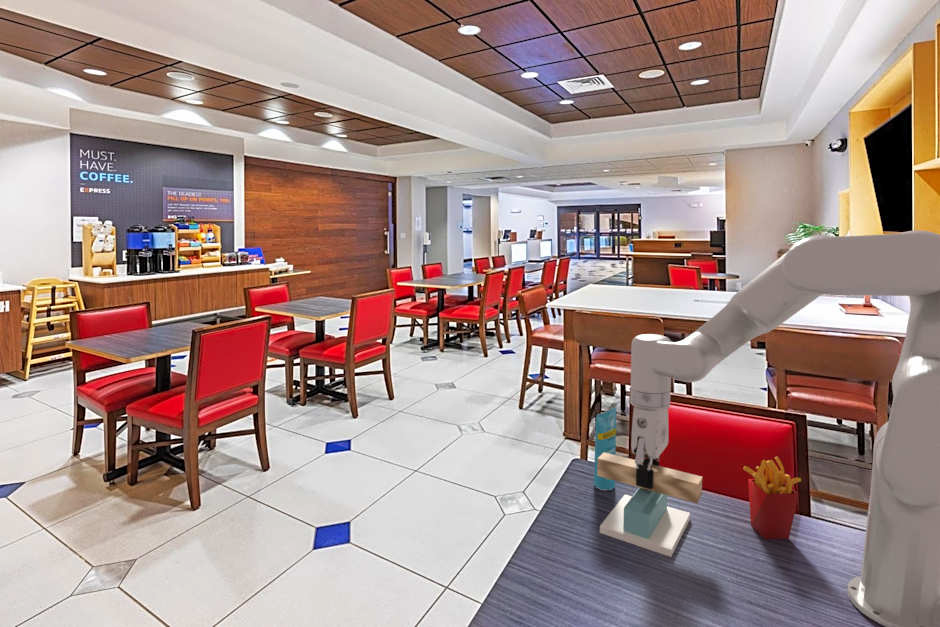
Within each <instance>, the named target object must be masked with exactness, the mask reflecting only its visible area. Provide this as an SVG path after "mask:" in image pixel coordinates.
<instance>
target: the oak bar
mask: <svg viewBox="0 0 940 627" xmlns="http://www.w3.org/2000/svg"><path fill="white" fill-rule="evenodd" d="M652 470H653V488H652V489H648V488H644V487H640V486H637V485H636V464H635V459H632V458H629V457H625V456H620V455H618V454H617V455H616V454H615V455H613V454H609V453H605V452H604V453H603V454H601V455H600V456H599V457H598V465H597V476H600V477H603V478H607V479H611V480H614V481H615V482H619V483H622V484H625V485H630V486H632V487H637V488H643V489H647V490H650V491H654V492H657V493H661V494H665V495H667V497H673V498H676V499H679V500H682V501H686V502H690V503H694V504H698V503H699V501H700V500H701V497H702V491H703V476H700V475H697V474H693V473H690V472H685V471H682V470H677V469H673V468H669V467H664V466H662V465H661V466H660V465H659V466H657V465H653V464H652Z"/></svg>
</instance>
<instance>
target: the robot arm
mask: <svg viewBox="0 0 940 627" xmlns="http://www.w3.org/2000/svg"><path fill="white" fill-rule="evenodd" d="M822 295H827V296H877V297H878V296H883V297H884V296H886V297H887V296H889V297H890V296H891V297H892V296H893V297H894V296H895V297H897V296H898V297H900V296H901V297H902V296H903V297H909V302H910V303H909V304H910V306H909V308H910V309H909V310H910V311H909V315H908V319H907V320H908V321H907V326H906V332H905V336H904V337H905V338H904V340H903V344H902V349H901V353H900V356H899V360H898V362H897V365H896V368H895V371H894V373H893V375H892V376H893V377H892V380H891V387H892V388H891V390H892V396H893V397H892V404H891V407H890V408H891V409H890V412H889V417H888V421H887V422H885V423H884V424H883V425H882V426H881V427H880V428H879V429H878V430H877V432H876V435H875V437H874V441H873V442H874V443H873V449H872V450H873V451H872V468H871V478H870V480H871V481H870V490H869V491H870V492H869V493H870V494H869V501H868V510H867V516H866V517H867V518H866V527H865V533H864V534H865V536H864V547H863V553H862V562H861V570H860V571H861V572H860V575H859V576H856V577H854V578H852V579H850V581H849V582H848V583H847V584H848V585H847V595H848V599H850V601H851V603H852V604H853V605H854V607H855V608H857V609H858V610H859V611H860V612H861V613H862V614H863V615H864V616H866V617H868V618H869V619H870V620H873V621H874V622H876V623H877V624H879V625H881V626H884V627H940V234H939V233H937V232H936V233H935V232H932V231H928V230H918V229H917V230H909V231H908V230H907V231H903V232H900V233H889V234H888V233H887V234H886V233H885V234H871V235H870V234H868V235H867V234H866V235H846V236H844V235H843V236H842V235H841V236H839V235H837V236H833V235H832V236H831V235H826V234H823V235H822V234H815V235H811V236H808V237H805V238H803V239H801V240H799V241H797V242H795V243H794V244H793V245H792V246H791V247H790V248H788V251H786V252H785V253H784V254H783V255H781V256H780V257H779V258H777V259H776V260H775V261H774V262H773V263H771V264H770V265H769V266H768V267H767V268H766V269H764V270H763V271H762V272H761V273H759V274H758V275H757V276H756V277H754V278H753V279H751V280H750V281H749V282H748V283H746V284H745V285H744V286H743V287H741V288H740V289H739V290H737V291H736V293H735V294H733V295H732V297H731V298H730V300H729V301H728V302H727V303H726V305H725V306H724V307H723V308H722V309H720V310H719V311H718V312H717V313H716V314H714V315H713V316H712V317H711V318H710V319H708V320H707V321H706V322H705V323H704V324H703V325H701V326H700V327H698V329H696V330H695V331H693V332H692V333H691V334H689V335H687V336H686V337H684V339H681V340H679V341H675V342H674V341H672V340H671V339H670V337H668V336H664V335H662V334H657V333H656V334H655V333H646V334H645V333H644V334H639V335H636V336H634V338H633V339H632V341H631V349H630V350H631V352H630V353H631V354H630V392H629V393H630V394H629V396H630V398H629V399H630V400H629V403H630V405H632V406H633V412H632V423H631V424H632V425H631V442H630V444H631V446H630V447H631V453H632V454H633V455H634V456H635V459H634V460H635V464H636V485H637V486H640V487H644V488H648V489H652V488H653V470H652V464H653V465H657V466H660V458H661V457H660V456H661V454H662V453H663V452H664V451H665V449H666V448H667V446H668V445H669V438H670V437H669V408H670V406H671V392H672V390H671V388H672V379H673V380H677V381H681V382H685V383H695V382H700V381H702V379H704V378H705V377H706V376H707V375H708V374H709V373H710V372H712V370H713V369H714V368H715V367H716V366H718V364H720V363H721V362H723V361H724V360H726V359H727V358H728V357H729V356H731V355H732V354H734V352H736V351H738V349H740V348H742V347H743V346H744V345H746V344H747V343H749V342H750V341H751V340H754V339H755V338H757V337H759V336H762V335H765V334H768V333H770V332H771V331H773V330H775V329H777V328H778V327H780V326H781V325H782V324H783V323H785V322H786V321H788V320H789V319H790V318H791V317H793V316H795V315H796V314H797V313H798V312H800V311H801V310H803V309H805V308H806V307H807V306H808V305H809V304H811V303H813V302H814V301H815V300H817V299H819V297H820V296H821V297H822Z"/></svg>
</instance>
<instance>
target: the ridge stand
mask: <svg viewBox="0 0 940 627" xmlns="http://www.w3.org/2000/svg"><path fill="white" fill-rule="evenodd" d="M690 521H691V512H688V511H685V510H681V509H677V508H675V507H671V506H668V495H665V494H661V493H657V492H654V491H650V490H647V489H643V488H639V487H637V489H636V491H635V492H634V494H632V495H628V494H624V495H623V496H622V497H621V498H620V500H619V501H618V503H617V504H616V505H615V506H614V508H612V510H611V511H610V512H609V514H608V515H607V517H605V519H604V520H603V521H602V523H601V524H600V525H599V534H602V535H604V536H607V537H610V538H614V539H617V540H620V541H623V542H626V543H628V544H632V545H635V546H637V547H641V548H644V549H646V550H648V551H652V552H655V553H658V554H660V555H663V556H667V557H669V558H672V556H673V554H674V552H675V550H676V548H677V547H678V544H679V542H680V540H681V539H682V536H683V534H684V532H685V531H686V529H687V526H688V524H689V522H690Z"/></svg>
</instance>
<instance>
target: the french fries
mask: <svg viewBox="0 0 940 627" xmlns="http://www.w3.org/2000/svg"><path fill="white" fill-rule="evenodd" d="M774 459H775V461H776V463H777V464H778V466H779V467H778V466H777V464H776V463H775V462H774V460H773V459H770V460H769V459H768V460H766V459H762V461H760V466H758V465H757V466H756V467H755V469H756V471H755V470H753V469H752V468H750V467H749V466H747V465H744V466H743V470H744V471H745V472H747V473H749V475H751V476H752V477H753V478H748V479H747V481H748V484H747V485H748V496H749V497H748V498H749V500H748V501H749V513H750V514H749V515H750V526H751V527H752V528H753V529H754V530H755V531H756V532H757V533H758V535H759V536H761V537H762V538H763V539H764V540H780V539H781V540H782V539H783V540H784V539H785V540H786V539H790V534H791V530H792V528H793V527H792V526H793V522H794V518H795V513H796V509H797V505H798V501H799V497H800V495H799V494H800V493H799V492H798V491H795V489H793V486H794V485H795V484H797V483H800V482H801V483H802V478H801V477H793V478H791V475H790V474H787V473H785V468H784V466H783V463H782V461H781V459H780V458H779V457H778V456H775V457H774ZM779 468H780V469H779Z"/></svg>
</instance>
